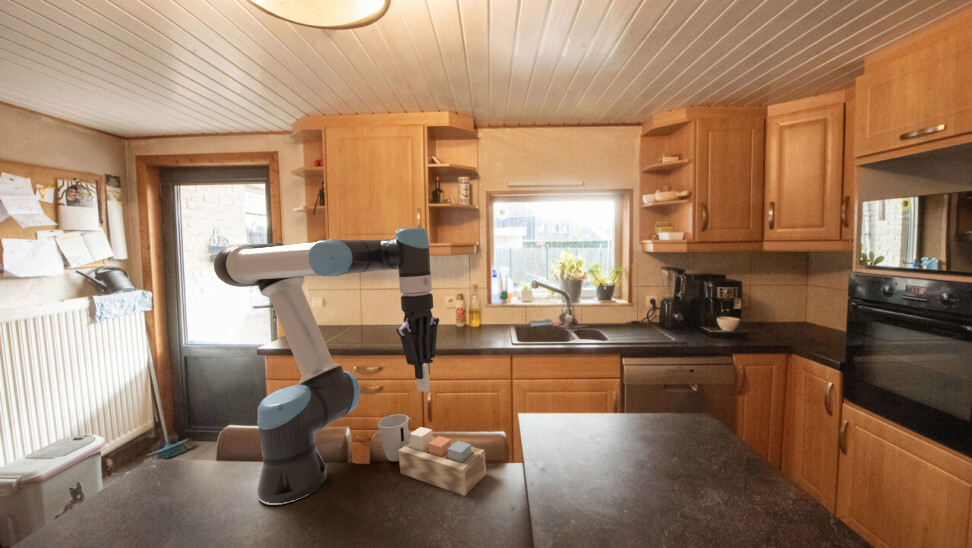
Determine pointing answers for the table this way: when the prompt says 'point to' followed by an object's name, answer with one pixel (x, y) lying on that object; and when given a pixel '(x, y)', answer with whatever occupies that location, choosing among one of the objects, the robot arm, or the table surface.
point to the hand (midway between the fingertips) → (423, 390)
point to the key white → (421, 439)
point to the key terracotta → (439, 446)
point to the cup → (394, 434)
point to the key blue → (459, 452)
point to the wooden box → (443, 469)
